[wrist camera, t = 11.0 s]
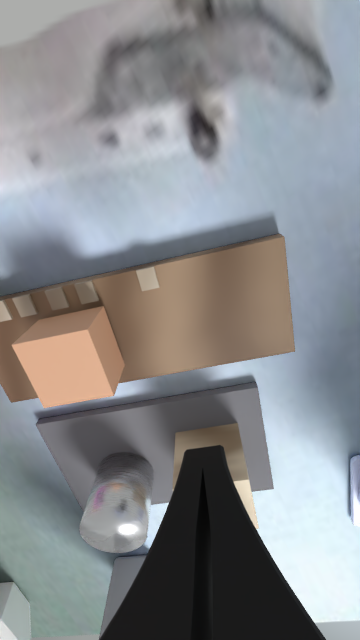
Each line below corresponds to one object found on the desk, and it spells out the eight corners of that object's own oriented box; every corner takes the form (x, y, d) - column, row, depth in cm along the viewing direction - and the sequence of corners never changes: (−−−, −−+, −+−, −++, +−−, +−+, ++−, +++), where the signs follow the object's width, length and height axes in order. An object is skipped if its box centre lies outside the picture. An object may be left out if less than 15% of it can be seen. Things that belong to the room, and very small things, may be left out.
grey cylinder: (145, 448, 23) (135, 506, 19) (160, 488, 25) (154, 549, 21) (90, 456, 23) (69, 515, 19) (108, 495, 25) (92, 556, 21)
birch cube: (237, 423, 22) (248, 479, 18) (246, 467, 23) (258, 528, 19) (175, 432, 22) (172, 489, 18) (188, 475, 24) (188, 536, 20)
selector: (103, 306, 17) (87, 329, 15) (124, 364, 19) (113, 395, 16) (38, 319, 18) (11, 345, 15) (64, 376, 19) (44, 408, 17)
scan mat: (255, 381, 21) (257, 387, 20) (271, 482, 25) (273, 488, 24) (39, 418, 23) (35, 424, 22) (86, 506, 27) (84, 513, 26)
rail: (279, 233, 17) (285, 237, 16) (290, 343, 20) (296, 353, 19) (-31, 303, 19) (-44, 311, 18) (18, 393, 22) (9, 404, 21)
